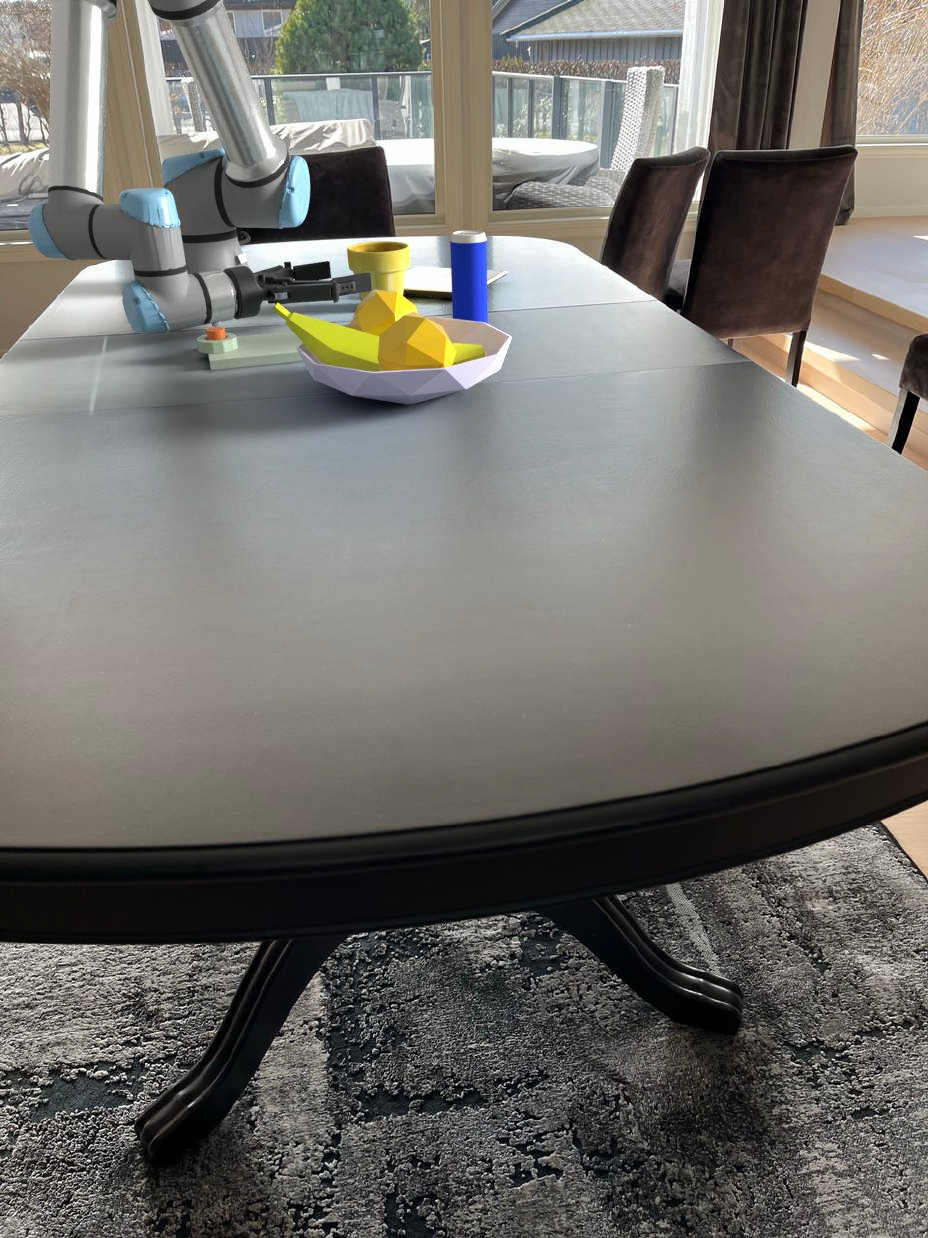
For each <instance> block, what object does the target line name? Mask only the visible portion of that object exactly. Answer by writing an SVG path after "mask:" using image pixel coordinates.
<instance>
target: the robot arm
mask: <svg viewBox="0 0 928 1238" xmlns="http://www.w3.org/2000/svg"><path fill="white" fill-rule="evenodd" d="M45 2H46V3H47V5H48V6H49V7H50V8H51V17H50V18H51V24H50V31H51V32H50V72H49V73H50V74H49V75H50V77H49V86H50V87H49V124H48V125H49V128H48V129H49V130H48V182H47V183H48V184H47V202H44V203H39V204H36V205H35V206H33V207H32V209H31V213H30V215H29V216H28V220H27V228H28V234H29V238H30V241H31V243H32V244H33V246H34V247H35V249H36V250H37V251H38V252H39V254H41V255H43V256H45V257H46V258H49V259H56V260H67V261H86V260H87V261H88V260H89V261H90V260H92V261H93V260H94V261H95V260H106V261H130V262H131V265H132V269H133V275H134V279H133V280H131V281H129V282H126V283H124V284H123V286H122V288H121V296H122V299H121V300H122V306H123V311H124V313H125V316H126V319H127V322H128V324H129V325H130V327H131V328H132V330H134V331H135V332H136V333H138V334H139V335H150V334H157V333H170V332H173V331H178V330H183V329H189V328H193V327H199V326H204V325H205V326H206V325H209V324H211V326H212V327H219V322H221V323H223V322H228V321H232V320H234V319H235V320H242V319H249V318H253V317H256V316H258V315H259V313H260V311H261V306H262V303H263V302H267V304H269V305H270V304H273V305H274V306H275V305H276V303H279V304H280V305H289V304H300V303H315V302H330V301H333V304H336V303H338V302H339V300H340V297H344V296H349V295H356V294H359V293H362V292H368V291H372V286H371V273H362V274H355V275H354V274H349V275H343V276H337V277H332V271H331V261H329V260H324V261H318V262H311V263H305V264H298V265H293V266H292V262H291V261H284V262H283V265H280V264H277V265H276V266H272V267H268V268H265V269H262V270H258V271H255V272H253V271H252V269H251V267H250V265H249V262H248V259H247V257H246V255H245V252H243V250H242V247H241V246H244V245H247V244H248V243H250V242H251V236H250V235H249V233H248V232H246V231H244V230H241V231H239V232H237V228H245V229H246V228H249V229H253V228H255V229H280V230H282V229H284V228H297V227H299V226H301V225H302V224H303V222H304V221H305V220H306V217H307V215H308V211H309V206H310V205H309V204H310V198H311V177H310V172H309V171H310V170H309V166H308V163H307V161H306V160H305V158H303V157H302V156H300V155H299V156H298V155H297V154H294V155H290V152H289V149H288V147H287V145H286V142H285V141H284V139H282V137H281V136H279V135H277V134H275V133H273V131H272V129H271V126H270V124H269V121H268V119H267V116H266V114H265V111H264V108H263V106H262V103H261V99H260V97H259V95H258V92H257V90H256V87H255V84H254V82H253V79H252V76H251V74H250V71H249V69H248V66H247V63H246V60H245V58H244V55H243V52H242V49H241V47H240V45H239V41H238V38H237V36H236V34H235V31H234V28H233V26H232V23H231V19H230V17H229V15H228V12H227V9H226V7H225V5H224V0H147V2H148V4H149V7H150V9H151V12H152V13H153V15H154V16H155V17H156V18H157V19H159V20H161V21H163V22H166V23H168V24H169V27H170V29H171V31H172V33H173V36H174V39H175V40H176V43H177V46H178V47H179V49H180V53H181V54H182V57H183V59H184V61H185V63H186V65H187V69H188V70H189V73H190V75H191V77H192V79H193V82H194V84H195V86H196V89H197V91H198V93H199V96H200V97H201V100H202V102H203V104H204V106H205V109H206V111H207V114H208V116H209V118H210V121H211V123H212V125H213V127H214V130H215V132H216V134H217V137H218V139H219V142H220V143H221V145H222V146H221V147H219V148H212V149H205V150H201V151H196V152H190V153H184V154H179V155H174V156H170V157H166V158H165V159H164V160H163V161H162V163H161V176H162V187H137V188H129V189H125V190H122V191H120V193H119V196H118V199H119V202H118V203H104V202H105V201H104V193H105V192H104V190H105V155H106V154H105V153H106V125H107V123H106V122H107V121H106V120H107V89H108V88H107V87H108V56H109V54H108V53H109V26H110V25H109V23H110V22H112V21H113V20H115V18H117V8H118V7H117V5H118V0H45ZM243 238H245V239H243ZM239 239H240V240H239ZM241 239H242V240H241Z"/></svg>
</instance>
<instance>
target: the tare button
mask: <svg viewBox="0 0 928 1238" xmlns="http://www.w3.org/2000/svg"><path fill="white" fill-rule="evenodd" d="M225 333H226V329H225V327H223V326H216V327H214V326H212V327H211V326H210V327H207V328H206V329H205V335H207V340H221V339H225V338H226V336H225Z"/></svg>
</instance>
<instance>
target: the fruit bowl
mask: <svg viewBox="0 0 928 1238" xmlns="http://www.w3.org/2000/svg"><path fill="white" fill-rule="evenodd" d="M272 311H274V312H275V313H276V314H278V315H279V316H280V317H281V318H282V319H283V320H285V325H286V326H287V327H288V328H289V330H291V332H292V331H293V332H294V333H295V334H296V336H297V337H298V338H299V339H300V340H301V341H302V342H303V343H302V344H300V345H299V346H297V347H296V348H297V350H298V352H299V354H300V356H301V358H302V359H303V361H302V362H303V364H304V365H305V367H306V369H307V371H308V373H309V374H310V376H311V378H312V379H313V380H314V381H316V382H318V383H321V384H323V385H326V386H328V387H330V388H333V389H335V390H337V391H340V392H342V393H345V394H347V395H350V396H352V397H358V398H363V399H370V400H376V401H377V400H378V401H383V402H388V403H389V402H391V403H394V404H402V405H407V406H411V405H415V404H418V403H422V402H425V401H429V400H432V399H433V400H434V399H437V398H440V397H444V396H448V395H451V394H455V393H458V392H462V391H466V390H468V389H470V388H472V387H473V386H475V385H476V384H478V383H480V382H481V381H483V380H485V379H487V378H488V377H490V376H492V375H494V374H495V373H497V372H499V371H500V370H501V369H502V365H503V363H504V360H505V358H506V355H507V352H508V349H509V346H510V344H511V341H512V338H513V336H512V335H510V334H508V333H506V332H505V331H502V330H500V329H498V328H496V327H495V326H493V325H491V324H490V323H488V324H487V323H485V322H476V321H467V320H459V319H453V318H451V317H440V316H432V315H431V316H423V315H422V314H419V312H418V309H417V306H416V305H415V304H414V303H413V302H412V301H410V300H409V299H407V298H406V296H402V295H401V294H400V293H398V292H394V291H384V290H375V289H373V290H372V291H371V292H370V293H369V294H368V295H367V296H366V297H365V298H364V299H363V300H362V301H361V300H360V302H359V303H358V304H357V306H356V307H355V310H354V312H353V314H352V317H351V319H350V322H349V323H348V324H344V325H342V324H341V325H340V324H337V323H333V322H329V321H327V320H323V319H319V318H315V317H311V316H309V315H305V314H302V313H297V312H295V311H294V312H290V311H289V310H288V309H287V308H285V307H284V306H283V304H281V305H280V304H279V303H276V305H275V304H274V305H273V306H272Z"/></svg>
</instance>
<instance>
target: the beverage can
mask: <svg viewBox="0 0 928 1238" xmlns="http://www.w3.org/2000/svg"><path fill="white" fill-rule="evenodd" d="M449 244H450V245H449V246H450V249H449V250H450V268H451V280H452V299H451V305H452V307H451V308H452V319H459V320H467V321H476V322H485V323H487V324H489V311H488V310H489V309H488V308H489V307H488V303H489V302H488V301H489V300H488V297H489V296H488V286H487V270H488V239H487V237H486V233H485V232H484V231H483V230H476V229H468V230H467V229H466V230H456V231H453V232H452V233H451V235H450V241H449Z"/></svg>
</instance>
